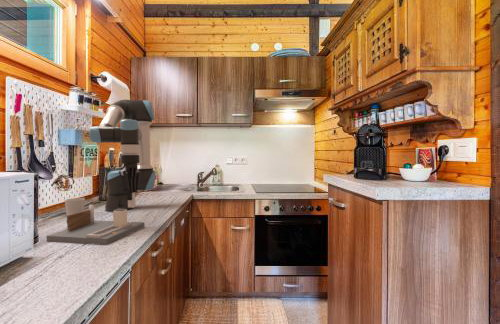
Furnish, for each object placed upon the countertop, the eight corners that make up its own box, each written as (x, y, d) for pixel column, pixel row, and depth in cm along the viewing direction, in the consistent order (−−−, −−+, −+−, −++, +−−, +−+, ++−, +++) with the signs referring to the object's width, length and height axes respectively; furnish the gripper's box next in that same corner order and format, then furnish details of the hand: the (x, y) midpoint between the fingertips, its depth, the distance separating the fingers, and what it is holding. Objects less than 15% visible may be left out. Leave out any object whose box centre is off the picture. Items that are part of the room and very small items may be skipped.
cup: (76, 227, 124) (75, 201, 124) (61, 227, 126) (60, 200, 125) (89, 223, 132) (88, 198, 132) (75, 222, 134) (74, 197, 133)
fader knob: (119, 224, 120) (119, 208, 119) (127, 225, 119) (126, 208, 119) (113, 227, 116) (113, 210, 115) (121, 227, 115) (120, 210, 115)
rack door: (90, 223, 123) (90, 209, 123) (69, 230, 112) (69, 215, 112) (85, 223, 124) (85, 209, 123) (64, 230, 112) (63, 215, 112)
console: (94, 224, 129) (93, 203, 129) (144, 226, 124) (143, 204, 124) (46, 240, 106) (45, 214, 105) (106, 244, 100) (105, 217, 100)
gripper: (131, 154, 131) (133, 204, 132) (112, 154, 118) (114, 209, 119) (146, 154, 130) (147, 204, 130) (128, 154, 117) (130, 210, 117)
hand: (131, 207), depth 124 cm, fingers closed
